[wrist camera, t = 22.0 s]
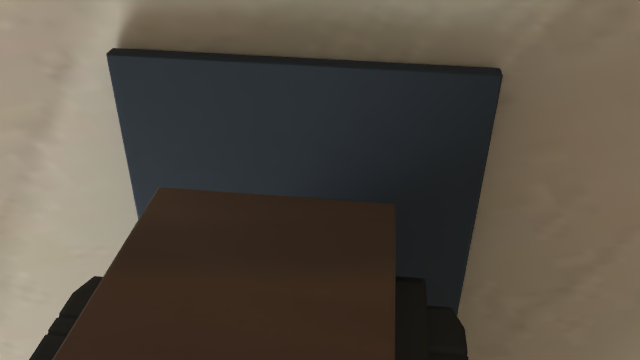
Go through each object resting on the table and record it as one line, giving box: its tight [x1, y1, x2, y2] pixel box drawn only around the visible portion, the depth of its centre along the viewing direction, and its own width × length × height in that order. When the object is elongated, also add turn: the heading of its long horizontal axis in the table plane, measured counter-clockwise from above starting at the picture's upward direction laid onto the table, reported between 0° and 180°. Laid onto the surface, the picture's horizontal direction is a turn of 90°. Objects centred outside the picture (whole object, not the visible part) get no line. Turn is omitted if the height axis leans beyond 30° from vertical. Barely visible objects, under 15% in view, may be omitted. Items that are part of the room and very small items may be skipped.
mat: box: [107, 48, 503, 316], centre depth 19 cm, size 20×9×1 cm, turn 0°
